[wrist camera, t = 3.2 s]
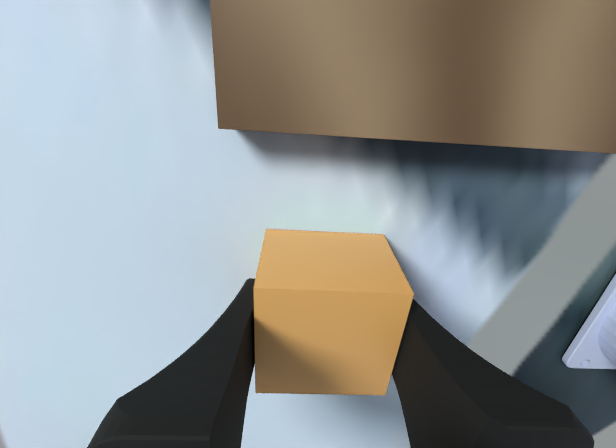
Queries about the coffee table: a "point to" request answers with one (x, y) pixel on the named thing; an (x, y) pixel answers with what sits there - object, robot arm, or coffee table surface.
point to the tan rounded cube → (327, 313)
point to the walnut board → (421, 70)
